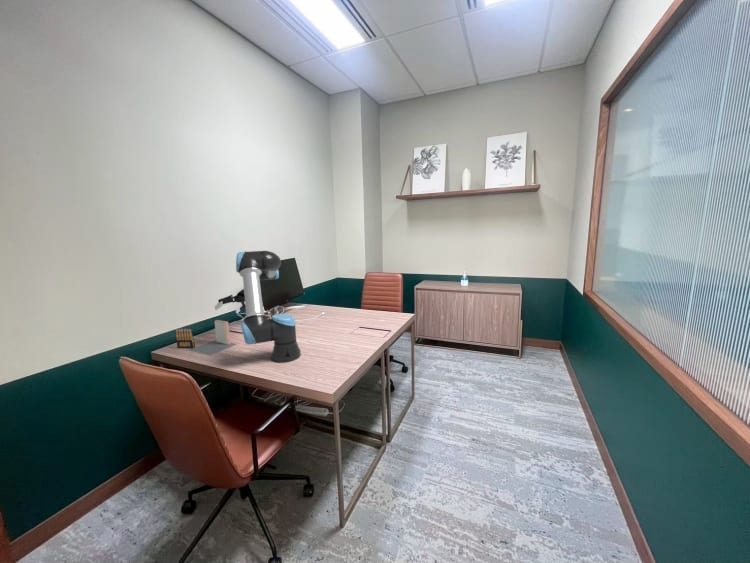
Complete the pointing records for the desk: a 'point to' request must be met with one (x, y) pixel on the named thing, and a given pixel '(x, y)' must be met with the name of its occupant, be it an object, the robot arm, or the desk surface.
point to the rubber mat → (211, 347)
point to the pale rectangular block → (222, 332)
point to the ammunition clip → (185, 339)
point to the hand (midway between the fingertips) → (225, 309)
